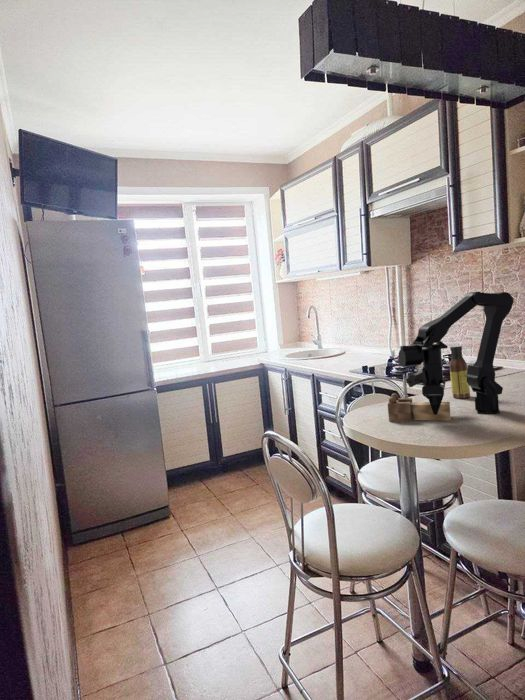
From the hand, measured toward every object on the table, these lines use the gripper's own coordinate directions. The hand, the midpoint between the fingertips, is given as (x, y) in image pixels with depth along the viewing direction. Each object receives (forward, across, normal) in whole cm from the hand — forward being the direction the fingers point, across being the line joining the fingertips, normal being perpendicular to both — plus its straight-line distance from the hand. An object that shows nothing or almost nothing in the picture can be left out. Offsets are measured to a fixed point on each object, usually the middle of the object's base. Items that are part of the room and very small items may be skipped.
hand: (436, 410), depth 142 cm
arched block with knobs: (+2, 0, -10) cm, 11 cm away
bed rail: (+2, 0, -3) cm, 4 cm away
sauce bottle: (+3, -31, +8) cm, 32 cm away
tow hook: (+3, -16, -12) cm, 20 cm away
